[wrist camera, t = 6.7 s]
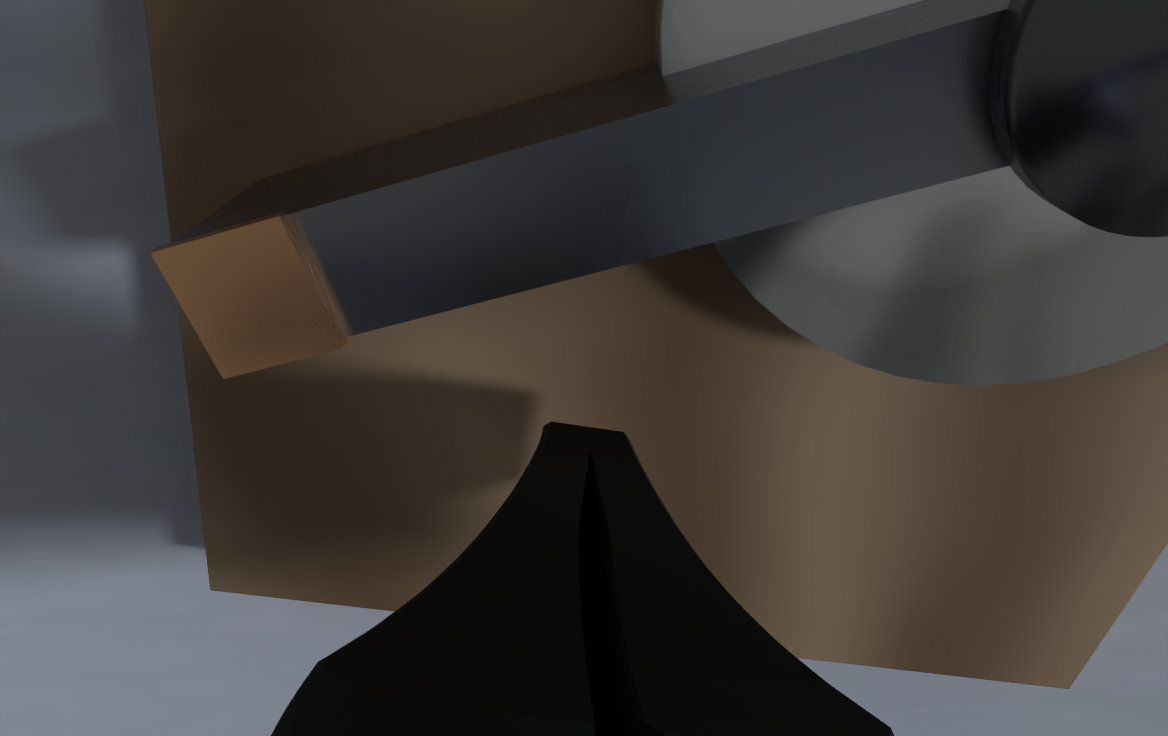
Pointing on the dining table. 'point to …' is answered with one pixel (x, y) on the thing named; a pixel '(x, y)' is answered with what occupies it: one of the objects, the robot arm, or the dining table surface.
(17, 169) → the dining table surface
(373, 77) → the dial board
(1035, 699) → the dining table surface
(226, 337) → the dial
